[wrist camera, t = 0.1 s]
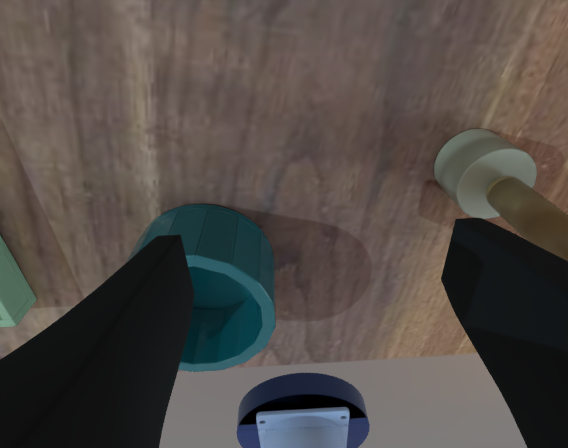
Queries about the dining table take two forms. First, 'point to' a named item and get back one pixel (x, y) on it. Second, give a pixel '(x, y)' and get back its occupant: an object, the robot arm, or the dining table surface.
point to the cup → (222, 284)
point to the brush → (500, 187)
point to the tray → (12, 290)
